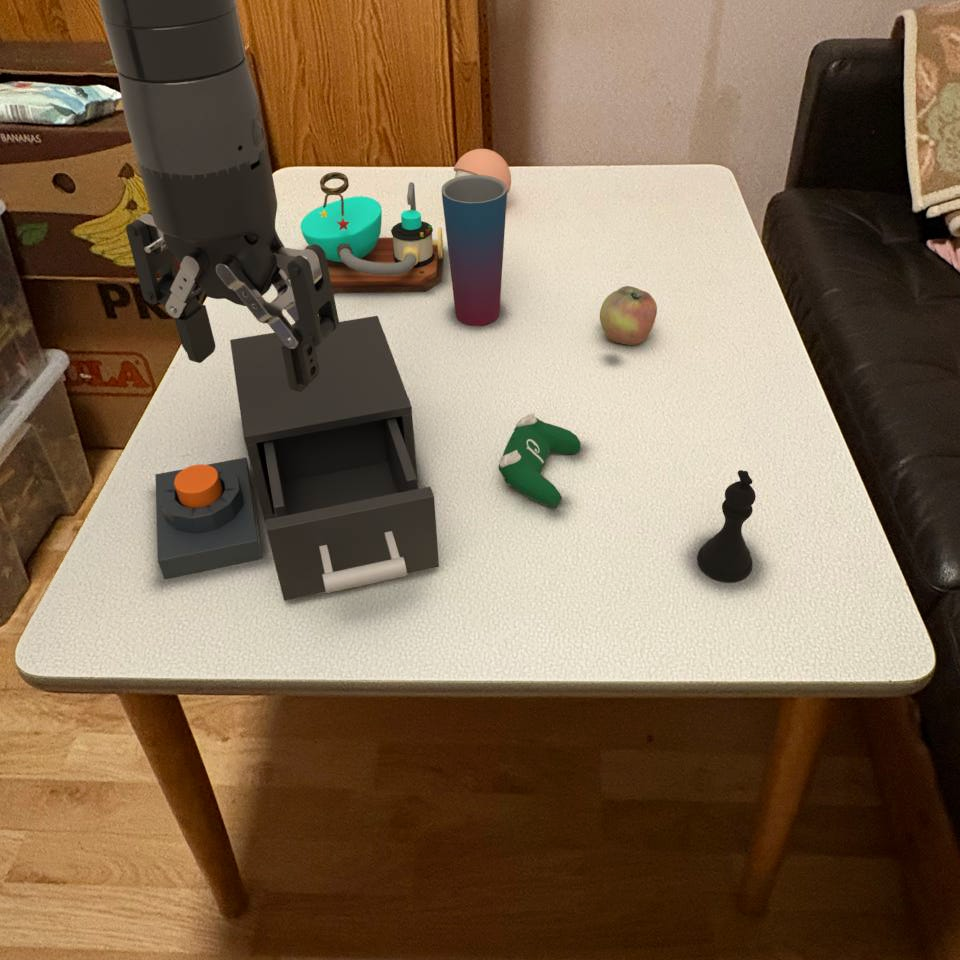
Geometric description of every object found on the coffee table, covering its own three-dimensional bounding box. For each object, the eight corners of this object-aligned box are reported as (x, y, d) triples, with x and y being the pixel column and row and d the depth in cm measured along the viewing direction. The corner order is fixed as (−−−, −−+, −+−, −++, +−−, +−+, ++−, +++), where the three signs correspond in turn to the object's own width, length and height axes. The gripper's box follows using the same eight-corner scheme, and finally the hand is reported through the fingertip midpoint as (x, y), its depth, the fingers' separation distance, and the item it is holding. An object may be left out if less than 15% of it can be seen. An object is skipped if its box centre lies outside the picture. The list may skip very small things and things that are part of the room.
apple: (597, 359, 97) (601, 311, 93) (597, 319, 103) (601, 272, 99) (654, 362, 96) (661, 313, 92) (651, 321, 102) (657, 274, 98)
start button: (223, 503, 76) (219, 487, 75) (179, 512, 75) (174, 496, 74) (221, 475, 78) (216, 460, 77) (178, 484, 78) (173, 468, 77)
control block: (262, 558, 76) (253, 524, 73) (164, 579, 75) (151, 545, 72) (250, 475, 84) (242, 441, 81) (161, 492, 82) (150, 458, 80)
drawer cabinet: (419, 492, 82) (411, 406, 75) (265, 523, 79) (243, 437, 73) (386, 398, 92) (377, 315, 86) (249, 423, 90) (229, 339, 83)
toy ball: (441, 209, 124) (438, 152, 119) (478, 190, 128) (477, 134, 123) (486, 226, 120) (486, 168, 115) (523, 205, 124) (523, 148, 119)
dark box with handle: (452, 606, 71) (448, 535, 65) (290, 643, 68) (272, 572, 63) (403, 462, 83) (397, 393, 78) (266, 489, 81) (249, 419, 76)
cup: (440, 304, 106) (433, 179, 96) (496, 294, 107) (495, 170, 97) (457, 334, 101) (451, 207, 91) (515, 324, 102) (516, 196, 92)
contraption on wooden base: (441, 302, 106) (434, 177, 96) (287, 304, 106) (264, 179, 96) (445, 244, 116) (439, 126, 106) (305, 246, 117) (286, 128, 107)
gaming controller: (557, 457, 88) (515, 415, 86) (586, 440, 85) (543, 397, 83) (532, 522, 81) (485, 478, 79) (562, 505, 79) (515, 460, 77)
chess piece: (731, 537, 77) (753, 446, 70) (762, 573, 74) (788, 481, 67) (686, 552, 76) (704, 461, 69) (716, 589, 73) (737, 497, 66)
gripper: (62, 148, 53) (137, 375, 64) (264, 188, 48) (308, 426, 59) (147, 104, 58) (204, 322, 69) (338, 137, 53) (366, 365, 64)
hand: (252, 370), depth 64 cm, fingers open, 8 cm apart
